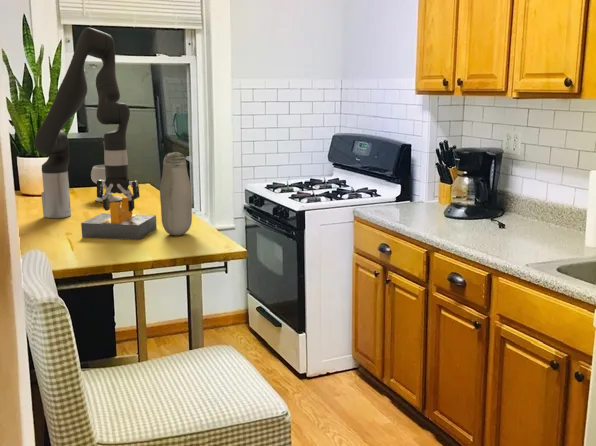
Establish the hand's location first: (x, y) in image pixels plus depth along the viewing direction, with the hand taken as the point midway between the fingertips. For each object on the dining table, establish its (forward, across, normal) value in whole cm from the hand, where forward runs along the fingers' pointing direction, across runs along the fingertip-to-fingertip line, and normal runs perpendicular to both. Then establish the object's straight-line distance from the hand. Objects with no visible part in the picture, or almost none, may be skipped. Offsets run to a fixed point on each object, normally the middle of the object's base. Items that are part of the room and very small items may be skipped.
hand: (119, 210), depth 219 cm
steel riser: (+8, 0, 0) cm, 8 cm away
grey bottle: (+8, +20, +1) cm, 22 cm away
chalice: (+8, -30, +58) cm, 66 cm away
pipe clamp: (+3, 0, 0) cm, 3 cm away
